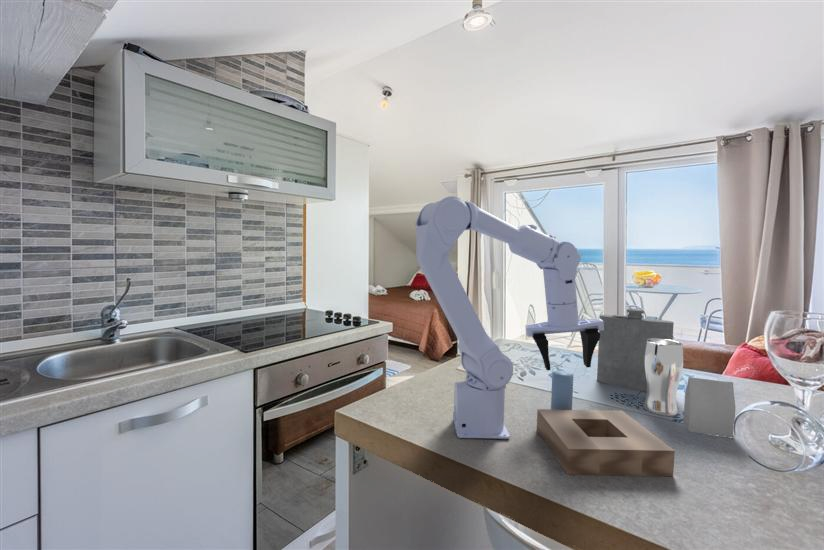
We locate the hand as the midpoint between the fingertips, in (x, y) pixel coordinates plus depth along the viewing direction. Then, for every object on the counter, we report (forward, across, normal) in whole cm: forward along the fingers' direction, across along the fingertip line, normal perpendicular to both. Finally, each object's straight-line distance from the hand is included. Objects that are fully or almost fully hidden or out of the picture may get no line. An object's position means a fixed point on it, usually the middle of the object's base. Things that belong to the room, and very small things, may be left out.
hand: (567, 367), depth 74 cm
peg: (+10, +2, 0) cm, 11 cm away
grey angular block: (+14, -24, +2) cm, 28 cm away
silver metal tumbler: (+14, -20, -7) cm, 25 cm away
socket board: (+10, -1, +13) cm, 16 cm away
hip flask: (+15, -20, -21) cm, 32 cm away
